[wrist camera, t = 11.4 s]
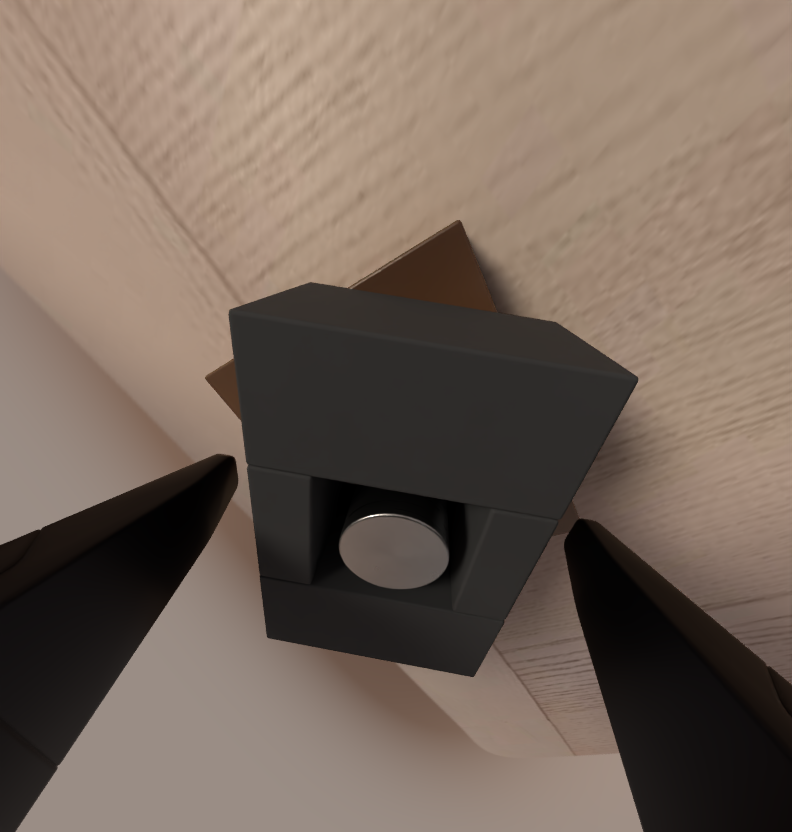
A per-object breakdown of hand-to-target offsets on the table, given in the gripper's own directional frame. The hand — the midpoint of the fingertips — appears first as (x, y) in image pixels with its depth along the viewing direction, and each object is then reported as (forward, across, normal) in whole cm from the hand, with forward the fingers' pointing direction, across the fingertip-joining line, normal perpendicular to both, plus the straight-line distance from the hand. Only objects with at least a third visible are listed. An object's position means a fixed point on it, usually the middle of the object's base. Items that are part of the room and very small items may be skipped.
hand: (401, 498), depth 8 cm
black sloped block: (+2, 0, 0) cm, 2 cm away
